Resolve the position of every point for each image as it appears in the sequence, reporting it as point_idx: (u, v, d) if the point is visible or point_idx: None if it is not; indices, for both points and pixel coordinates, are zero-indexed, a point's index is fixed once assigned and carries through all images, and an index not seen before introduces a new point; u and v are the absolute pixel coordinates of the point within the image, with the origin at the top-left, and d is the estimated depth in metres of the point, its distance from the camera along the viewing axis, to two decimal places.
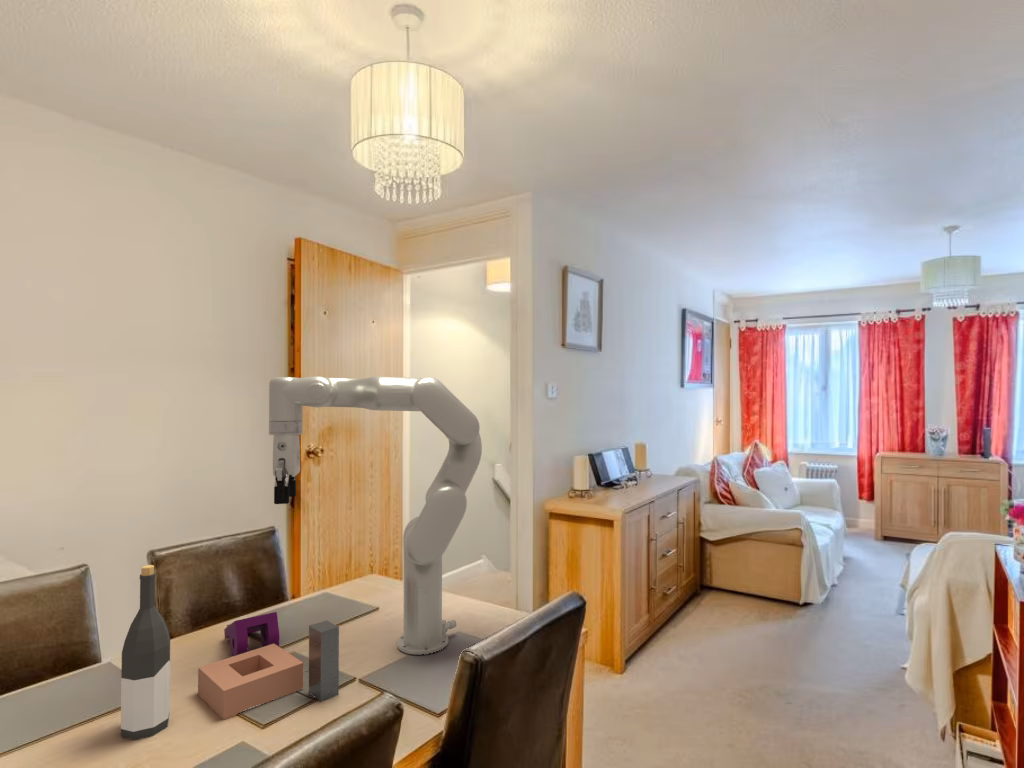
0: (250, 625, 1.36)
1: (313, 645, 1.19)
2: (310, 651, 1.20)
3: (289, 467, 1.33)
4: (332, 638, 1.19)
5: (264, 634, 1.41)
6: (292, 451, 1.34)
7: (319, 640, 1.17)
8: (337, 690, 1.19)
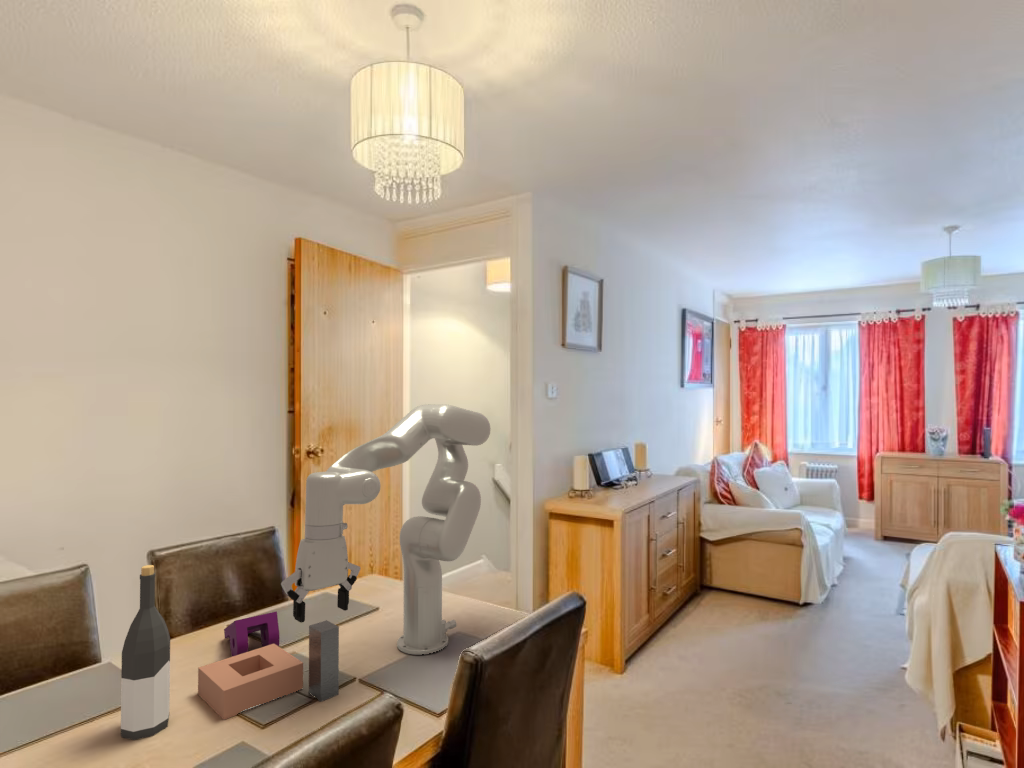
0: (250, 625, 1.36)
1: (313, 645, 1.19)
2: (310, 651, 1.20)
3: None
4: (332, 638, 1.19)
5: (264, 634, 1.41)
6: None
7: (319, 640, 1.17)
8: (337, 690, 1.19)
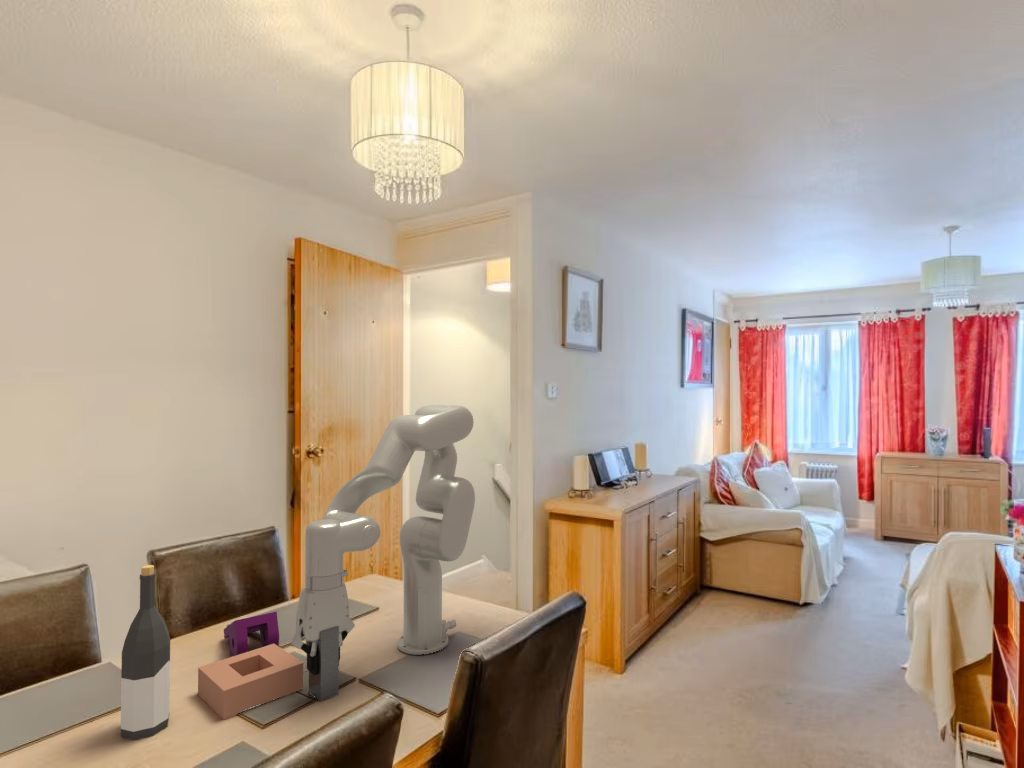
0: (250, 625, 1.36)
1: None
2: None
3: None
4: (332, 638, 1.19)
5: (264, 634, 1.41)
6: None
7: (319, 640, 1.17)
8: (337, 690, 1.19)
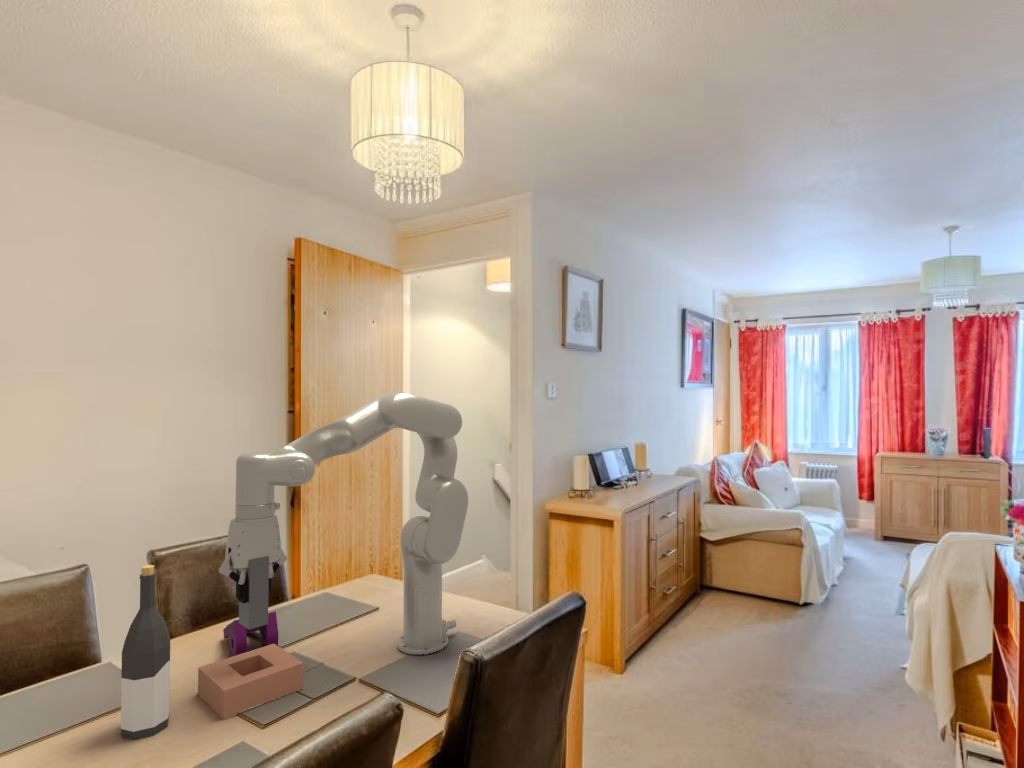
0: None
1: None
2: None
3: None
4: (262, 567, 1.20)
5: (263, 634, 1.41)
6: None
7: (248, 569, 1.19)
8: (267, 619, 1.21)
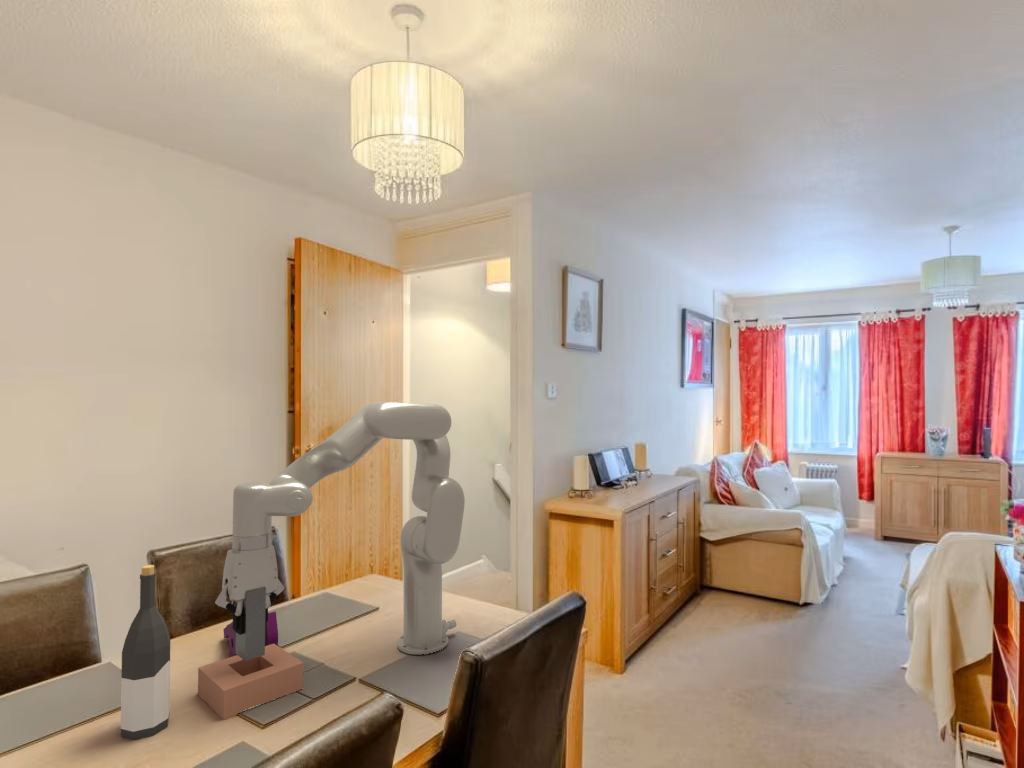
0: None
1: None
2: None
3: None
4: (259, 598, 1.20)
5: None
6: None
7: (244, 600, 1.18)
8: (263, 650, 1.20)
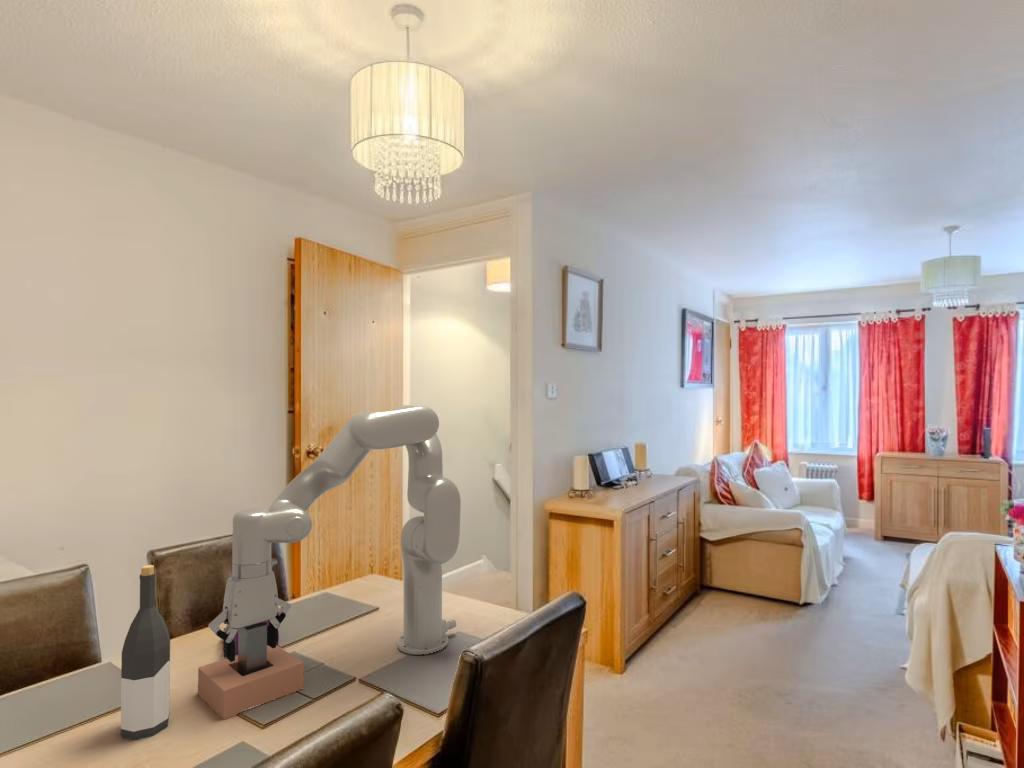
0: None
1: (241, 643, 1.20)
2: (238, 648, 1.21)
3: None
4: (260, 636, 1.20)
5: None
6: None
7: (246, 638, 1.19)
8: None
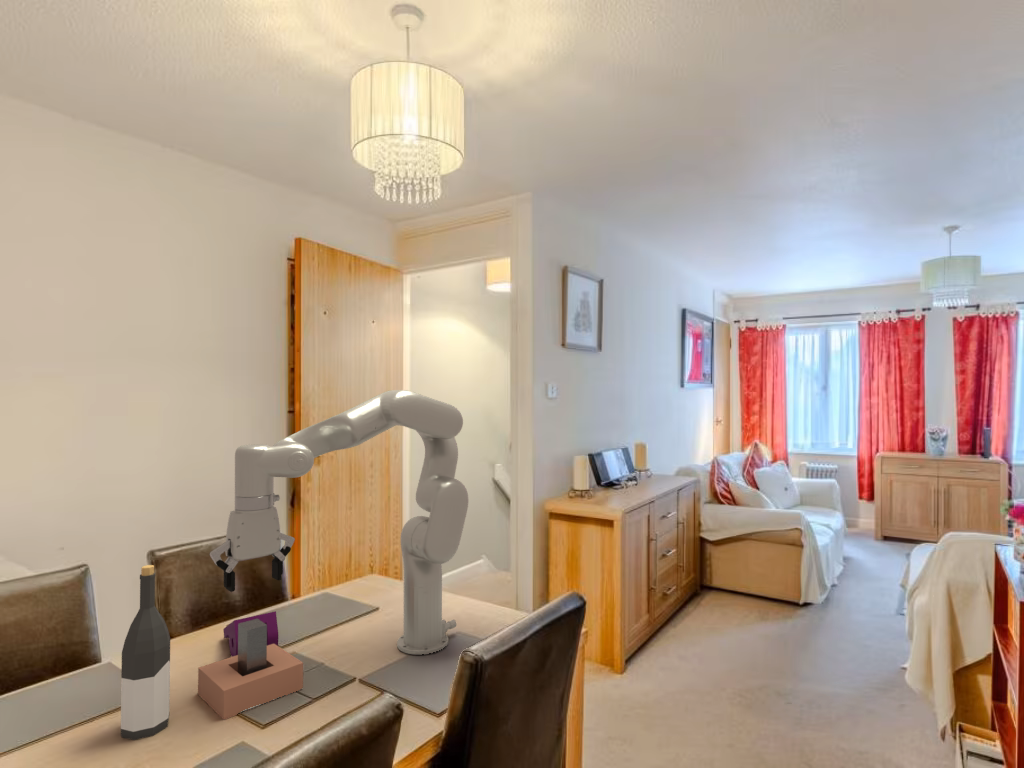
0: None
1: (241, 643, 1.20)
2: (238, 648, 1.21)
3: None
4: (260, 636, 1.20)
5: None
6: None
7: (245, 638, 1.19)
8: None
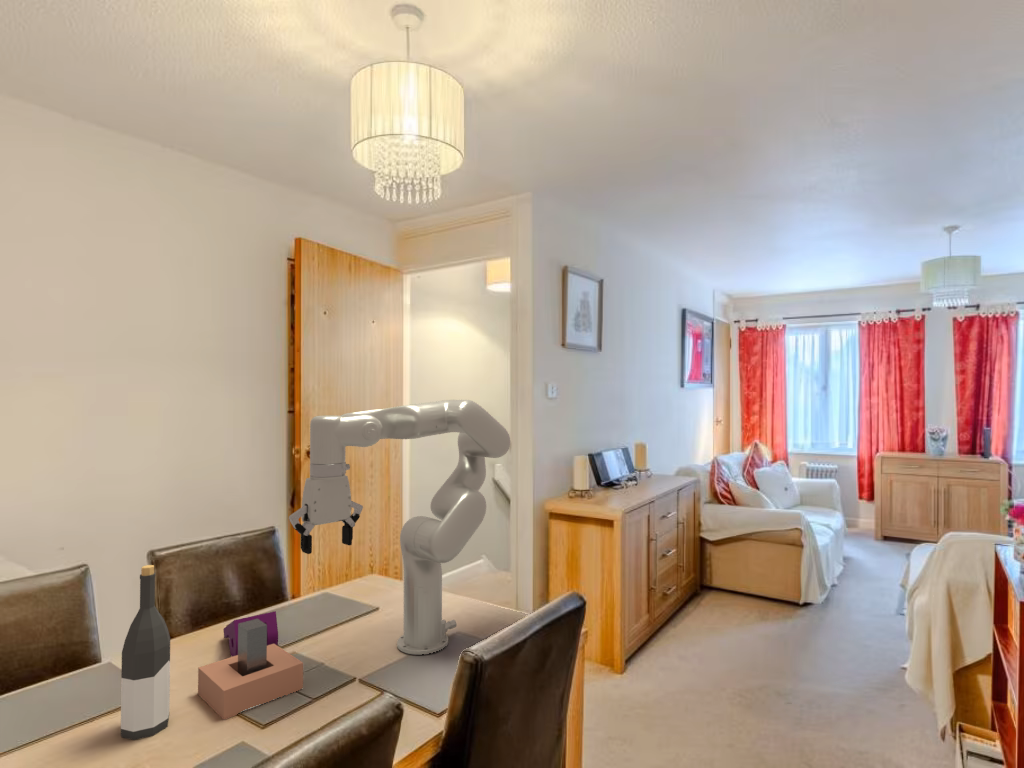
0: None
1: (241, 643, 1.20)
2: (238, 648, 1.21)
3: None
4: (260, 636, 1.20)
5: None
6: None
7: (245, 638, 1.19)
8: None
